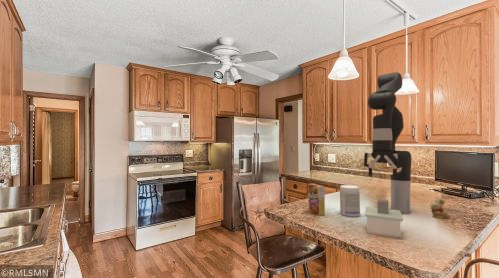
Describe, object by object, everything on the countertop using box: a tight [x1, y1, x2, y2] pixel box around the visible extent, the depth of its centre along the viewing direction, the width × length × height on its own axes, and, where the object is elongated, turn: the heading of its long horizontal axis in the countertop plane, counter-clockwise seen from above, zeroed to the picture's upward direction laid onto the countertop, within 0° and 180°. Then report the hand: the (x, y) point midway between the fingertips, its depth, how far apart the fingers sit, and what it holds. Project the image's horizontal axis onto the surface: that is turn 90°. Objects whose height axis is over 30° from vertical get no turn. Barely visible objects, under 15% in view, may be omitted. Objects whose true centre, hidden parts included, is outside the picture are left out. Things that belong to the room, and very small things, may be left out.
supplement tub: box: [339, 184, 361, 218], centre depth 129 cm, size 10×10×15 cm
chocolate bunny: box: [430, 197, 451, 220], centre depth 124 cm, size 6×8×10 cm
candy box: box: [307, 183, 326, 217], centre depth 131 cm, size 9×4×15 cm, turn 23°
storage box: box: [366, 217, 402, 239], centre depth 105 cm, size 12×12×7 cm
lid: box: [364, 198, 404, 223], centre depth 105 cm, size 14×14×7 cm
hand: (382, 177), depth 106 cm, fingers open, 8 cm apart
